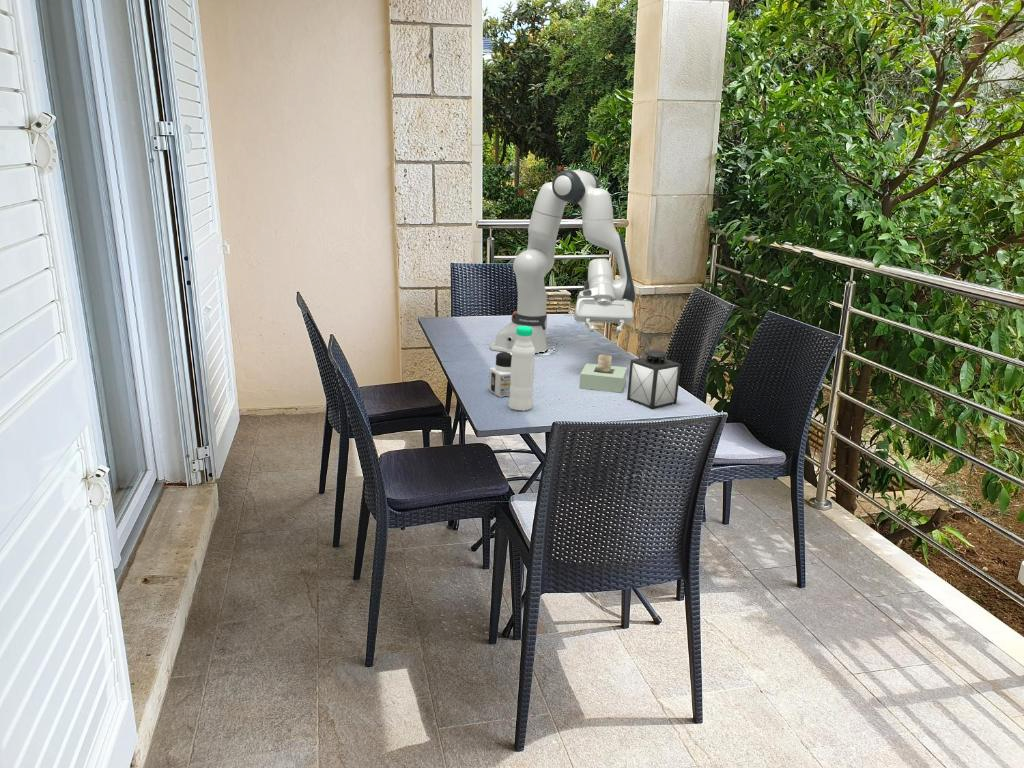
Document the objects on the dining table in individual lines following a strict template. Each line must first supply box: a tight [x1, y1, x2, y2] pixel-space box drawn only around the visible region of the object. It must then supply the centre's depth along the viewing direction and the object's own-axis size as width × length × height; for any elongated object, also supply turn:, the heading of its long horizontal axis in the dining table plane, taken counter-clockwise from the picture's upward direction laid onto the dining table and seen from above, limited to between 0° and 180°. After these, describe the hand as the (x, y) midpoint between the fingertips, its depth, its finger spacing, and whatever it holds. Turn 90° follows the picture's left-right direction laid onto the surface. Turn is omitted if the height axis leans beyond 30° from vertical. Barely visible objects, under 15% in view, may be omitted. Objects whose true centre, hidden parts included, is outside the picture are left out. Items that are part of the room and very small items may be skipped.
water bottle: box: [508, 326, 536, 411], centre depth 238 cm, size 7×7×25 cm
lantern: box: [626, 314, 682, 410], centre depth 250 cm, size 11×11×28 cm
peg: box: [597, 354, 613, 374], centre depth 268 cm, size 4×4×10 cm
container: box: [488, 351, 512, 398], centre depth 254 cm, size 8×8×13 cm
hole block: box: [579, 362, 628, 394], centre depth 269 cm, size 14×14×5 cm
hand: (605, 331), depth 271 cm, fingers open, 8 cm apart
